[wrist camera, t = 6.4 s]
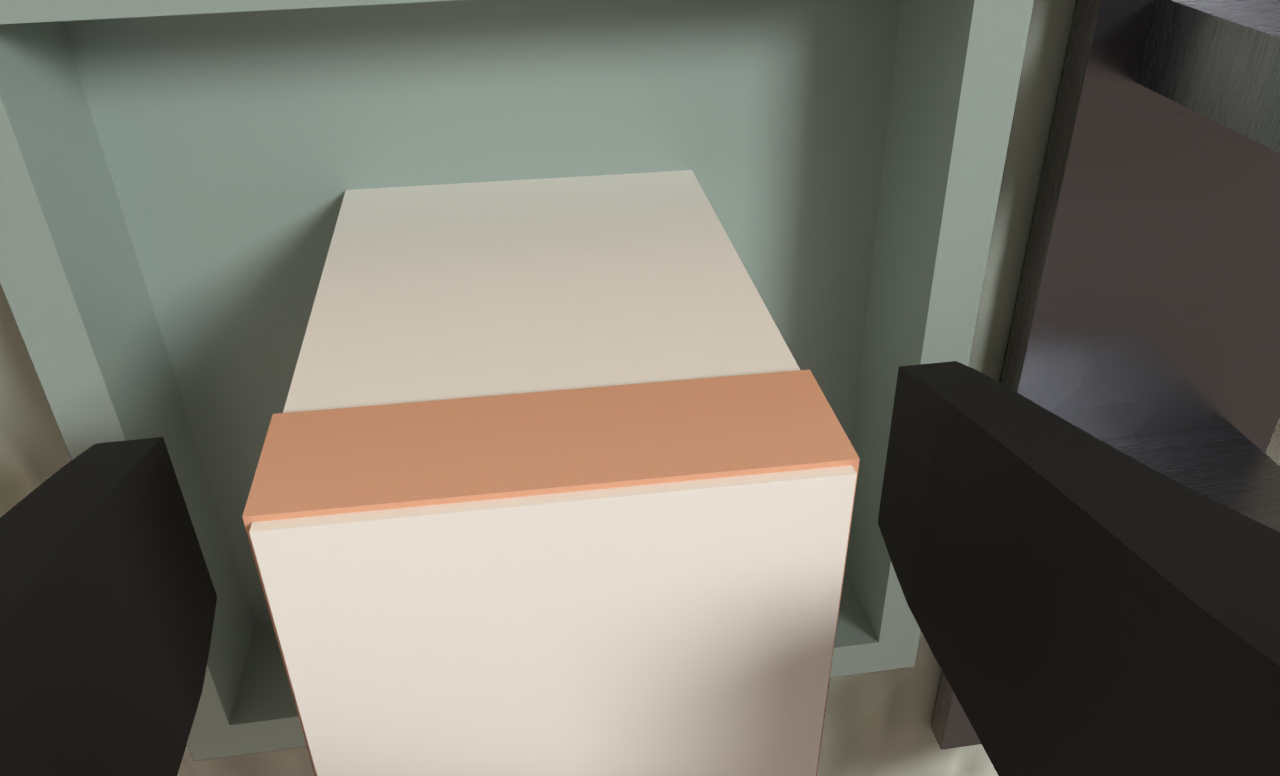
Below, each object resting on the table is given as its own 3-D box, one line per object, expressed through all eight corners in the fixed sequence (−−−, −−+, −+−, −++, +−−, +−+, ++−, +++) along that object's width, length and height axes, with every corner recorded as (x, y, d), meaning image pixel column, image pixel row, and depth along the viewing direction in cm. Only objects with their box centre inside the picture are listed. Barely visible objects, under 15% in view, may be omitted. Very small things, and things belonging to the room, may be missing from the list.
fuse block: (1659, -697, 9) (2473, -1006, 6) (1148, 697, 19) (1311, 923, 16) (1219, -709, 9) (1781, -1055, 5) (930, 727, 19) (1045, 968, 15)
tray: (949, -127, 11) (1051, -101, 9) (861, 559, 16) (915, 666, 14) (-17, -87, 10) (-134, -50, 8) (228, 634, 15) (193, 761, 13)
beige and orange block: (695, 165, 12) (863, 465, 7) (689, 448, 14) (812, 834, 9) (340, 185, 11) (240, 525, 6) (390, 474, 14) (344, 899, 9)
